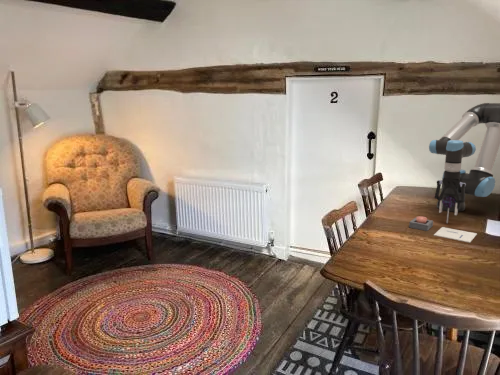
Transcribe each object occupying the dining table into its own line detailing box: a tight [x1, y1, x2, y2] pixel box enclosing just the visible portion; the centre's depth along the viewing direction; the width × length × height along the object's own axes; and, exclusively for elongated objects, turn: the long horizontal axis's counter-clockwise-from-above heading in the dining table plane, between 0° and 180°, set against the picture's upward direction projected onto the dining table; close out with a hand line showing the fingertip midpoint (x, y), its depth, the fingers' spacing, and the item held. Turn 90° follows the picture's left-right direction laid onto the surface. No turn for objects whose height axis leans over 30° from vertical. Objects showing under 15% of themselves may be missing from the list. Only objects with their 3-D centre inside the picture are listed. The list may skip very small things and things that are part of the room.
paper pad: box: [433, 226, 478, 243], centre depth 196 cm, size 14×16×1 cm
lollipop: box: [442, 196, 457, 224], centre depth 211 cm, size 7×7×15 cm
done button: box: [415, 215, 428, 224], centre depth 207 cm, size 5×5×3 cm
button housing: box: [408, 217, 434, 232], centre depth 208 cm, size 9×9×3 cm
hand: (448, 213), depth 211 cm, fingers closed on lollipop, 7 cm apart
